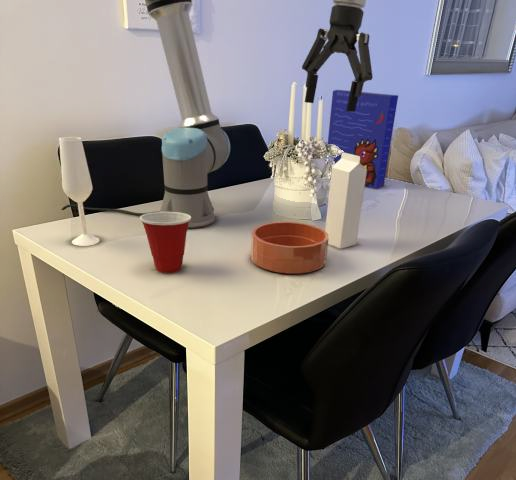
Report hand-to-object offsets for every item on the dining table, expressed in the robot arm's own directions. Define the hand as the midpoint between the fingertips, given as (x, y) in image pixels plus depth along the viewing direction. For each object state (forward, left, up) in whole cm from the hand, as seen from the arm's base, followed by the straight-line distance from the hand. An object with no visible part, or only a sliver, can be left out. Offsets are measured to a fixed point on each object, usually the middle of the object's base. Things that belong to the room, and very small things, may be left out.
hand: (329, 107), depth 127 cm
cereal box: (+27, +48, -31) cm, 63 cm away
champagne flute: (-62, -8, -31) cm, 70 cm away
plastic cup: (-42, -27, -31) cm, 59 cm away
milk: (+2, -15, -31) cm, 34 cm away
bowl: (-14, -25, -30) cm, 42 cm away
